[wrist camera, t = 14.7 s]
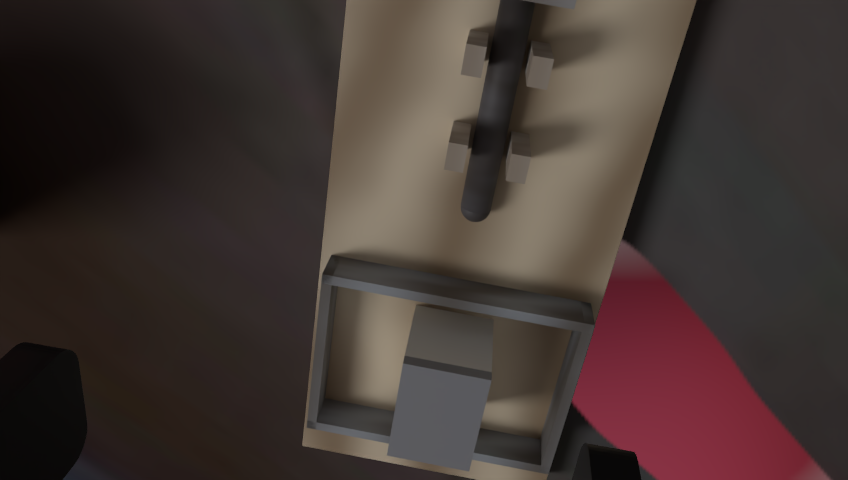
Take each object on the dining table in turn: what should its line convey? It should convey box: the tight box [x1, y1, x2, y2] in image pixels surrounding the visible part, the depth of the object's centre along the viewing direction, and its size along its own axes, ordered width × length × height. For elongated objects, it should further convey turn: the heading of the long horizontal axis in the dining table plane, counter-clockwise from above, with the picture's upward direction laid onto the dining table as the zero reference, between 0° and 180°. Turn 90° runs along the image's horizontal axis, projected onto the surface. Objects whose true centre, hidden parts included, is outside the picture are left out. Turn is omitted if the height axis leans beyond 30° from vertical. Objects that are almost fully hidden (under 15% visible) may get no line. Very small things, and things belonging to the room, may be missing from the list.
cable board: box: [302, 0, 696, 480], centre depth 34 cm, size 14×30×4 cm, turn 171°
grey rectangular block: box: [387, 305, 494, 471], centre depth 35 cm, size 4×6×5 cm
